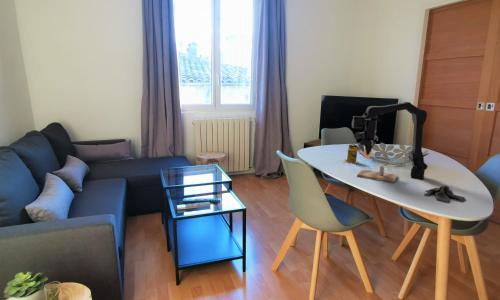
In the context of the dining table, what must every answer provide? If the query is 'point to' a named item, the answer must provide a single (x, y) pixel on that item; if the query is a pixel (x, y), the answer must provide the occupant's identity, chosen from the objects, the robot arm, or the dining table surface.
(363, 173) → the keeper plate
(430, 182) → the dining table surface
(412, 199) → the dining table surface
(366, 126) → the robot arm
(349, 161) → the condiment
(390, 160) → the link
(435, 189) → the cloth
